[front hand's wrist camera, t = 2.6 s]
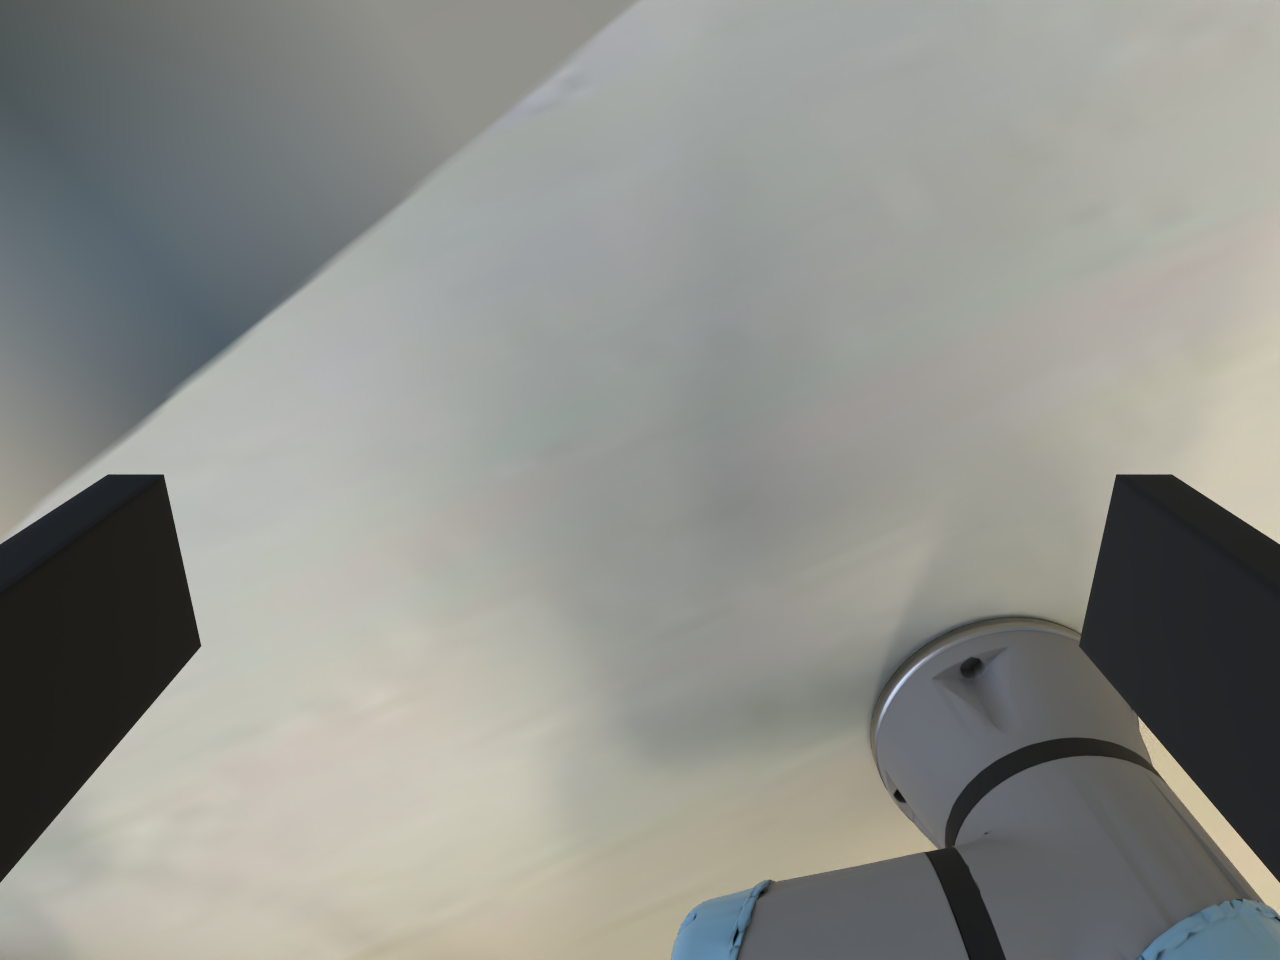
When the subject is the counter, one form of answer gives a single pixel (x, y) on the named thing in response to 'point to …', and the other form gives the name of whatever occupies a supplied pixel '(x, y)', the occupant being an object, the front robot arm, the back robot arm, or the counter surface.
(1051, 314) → the counter surface
